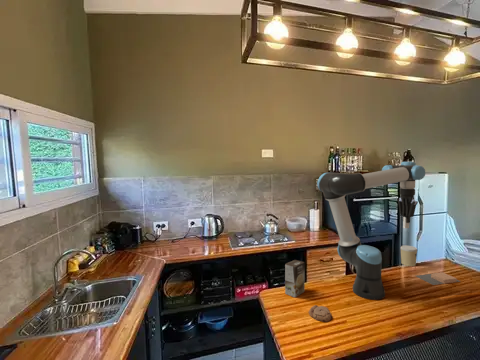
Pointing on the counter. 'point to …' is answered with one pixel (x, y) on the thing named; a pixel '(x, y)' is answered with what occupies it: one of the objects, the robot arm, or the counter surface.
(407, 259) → the coffee cup
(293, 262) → the coffee box
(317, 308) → the cookie
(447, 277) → the tile
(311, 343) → the counter surface
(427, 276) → the slate board
